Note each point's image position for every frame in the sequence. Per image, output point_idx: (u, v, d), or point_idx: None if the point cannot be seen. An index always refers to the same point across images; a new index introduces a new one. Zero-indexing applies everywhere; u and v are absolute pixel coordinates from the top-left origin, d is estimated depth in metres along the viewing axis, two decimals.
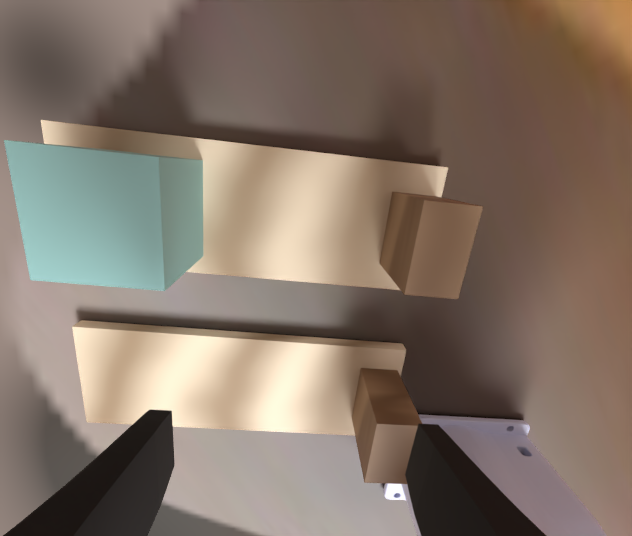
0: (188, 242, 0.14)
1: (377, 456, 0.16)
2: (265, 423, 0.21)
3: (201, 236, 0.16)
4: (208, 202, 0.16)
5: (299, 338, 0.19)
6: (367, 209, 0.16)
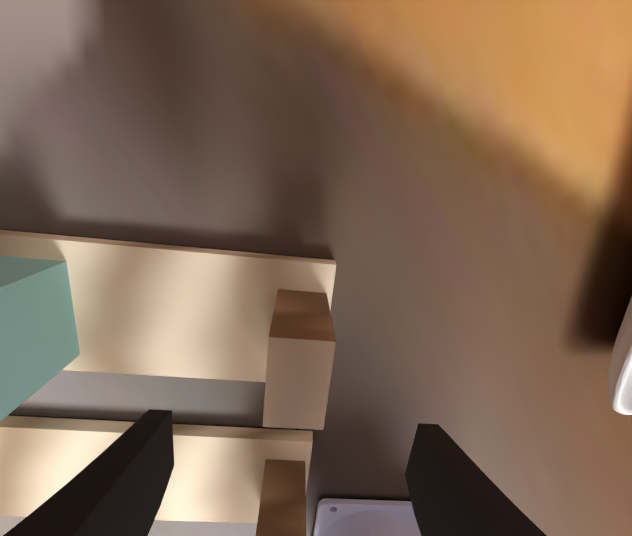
0: (41, 358, 0.13)
1: None
2: (169, 513, 0.19)
3: (72, 337, 0.15)
4: (78, 302, 0.15)
5: (198, 429, 0.18)
6: (253, 306, 0.15)
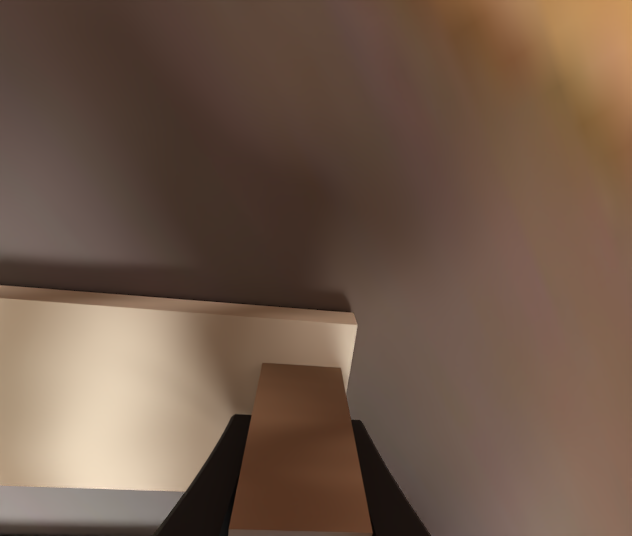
0: None
1: None
2: None
3: None
4: None
5: None
6: (222, 389, 0.10)
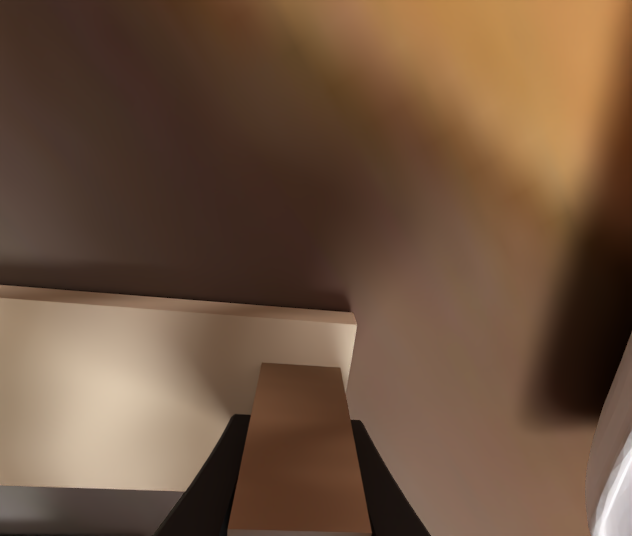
0: None
1: None
2: None
3: None
4: None
5: None
6: (222, 389, 0.10)
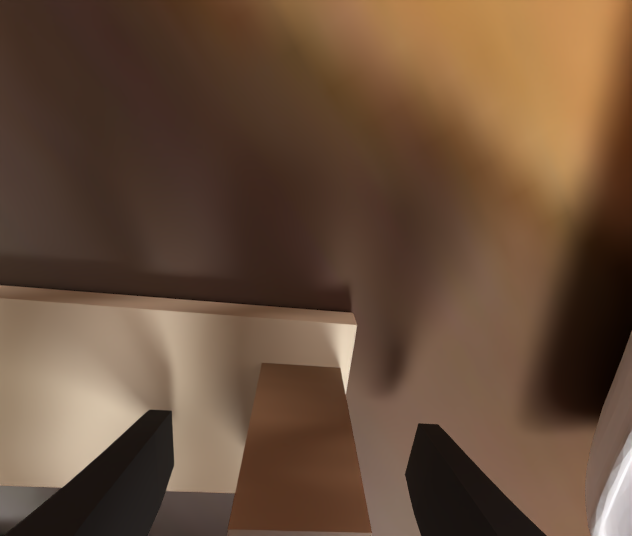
0: None
1: None
2: None
3: None
4: None
5: None
6: (222, 389, 0.10)
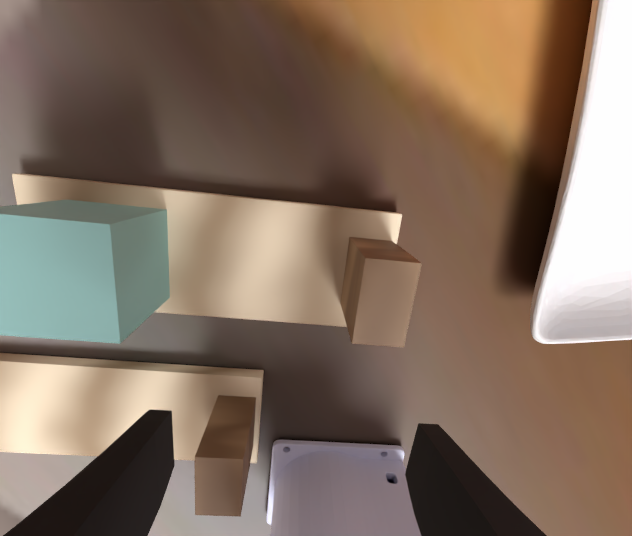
0: (150, 290, 0.15)
1: (202, 489, 0.16)
2: None
3: (166, 279, 0.17)
4: (173, 247, 0.17)
5: (155, 365, 0.19)
6: (326, 253, 0.17)
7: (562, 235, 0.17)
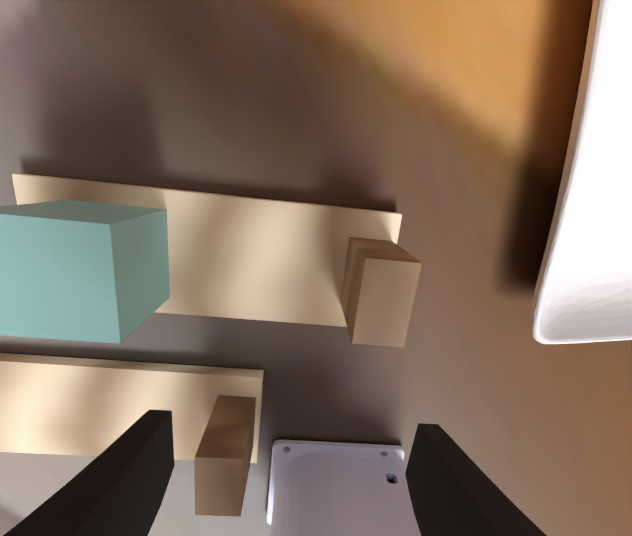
0: (150, 290, 0.15)
1: (202, 489, 0.16)
2: None
3: (166, 279, 0.17)
4: (173, 247, 0.17)
5: (155, 365, 0.19)
6: (326, 253, 0.17)
7: (563, 235, 0.17)
